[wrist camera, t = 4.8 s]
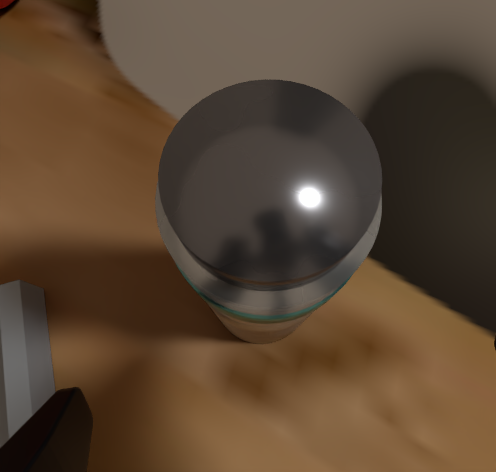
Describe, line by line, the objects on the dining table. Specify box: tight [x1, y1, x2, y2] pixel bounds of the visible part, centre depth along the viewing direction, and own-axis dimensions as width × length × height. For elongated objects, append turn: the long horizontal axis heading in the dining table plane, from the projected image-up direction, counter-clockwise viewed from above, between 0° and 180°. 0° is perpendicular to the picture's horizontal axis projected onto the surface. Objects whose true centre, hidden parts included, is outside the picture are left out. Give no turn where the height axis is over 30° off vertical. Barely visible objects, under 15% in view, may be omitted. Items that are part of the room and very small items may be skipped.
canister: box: [155, 80, 382, 344], centre depth 13 cm, size 5×5×13 cm
